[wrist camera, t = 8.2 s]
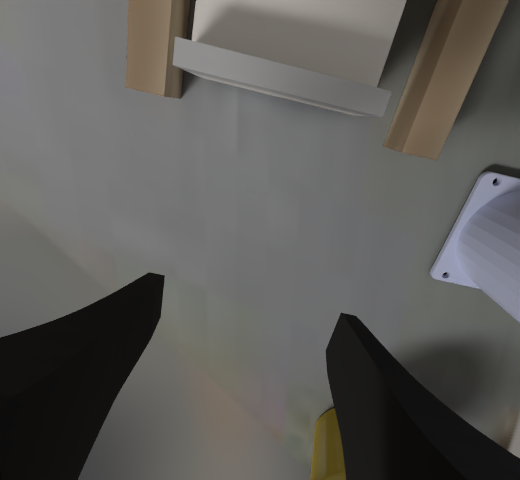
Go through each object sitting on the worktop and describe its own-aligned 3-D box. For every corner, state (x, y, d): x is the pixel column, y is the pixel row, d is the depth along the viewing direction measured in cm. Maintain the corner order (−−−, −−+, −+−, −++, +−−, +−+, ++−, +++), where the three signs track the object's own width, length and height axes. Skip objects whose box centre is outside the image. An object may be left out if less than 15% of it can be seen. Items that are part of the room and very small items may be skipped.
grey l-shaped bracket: (394, -28, 15) (464, -108, 10) (349, 115, 18) (383, 117, 13) (225, -75, 15) (195, -186, 9) (205, 79, 18) (172, 64, 12)
